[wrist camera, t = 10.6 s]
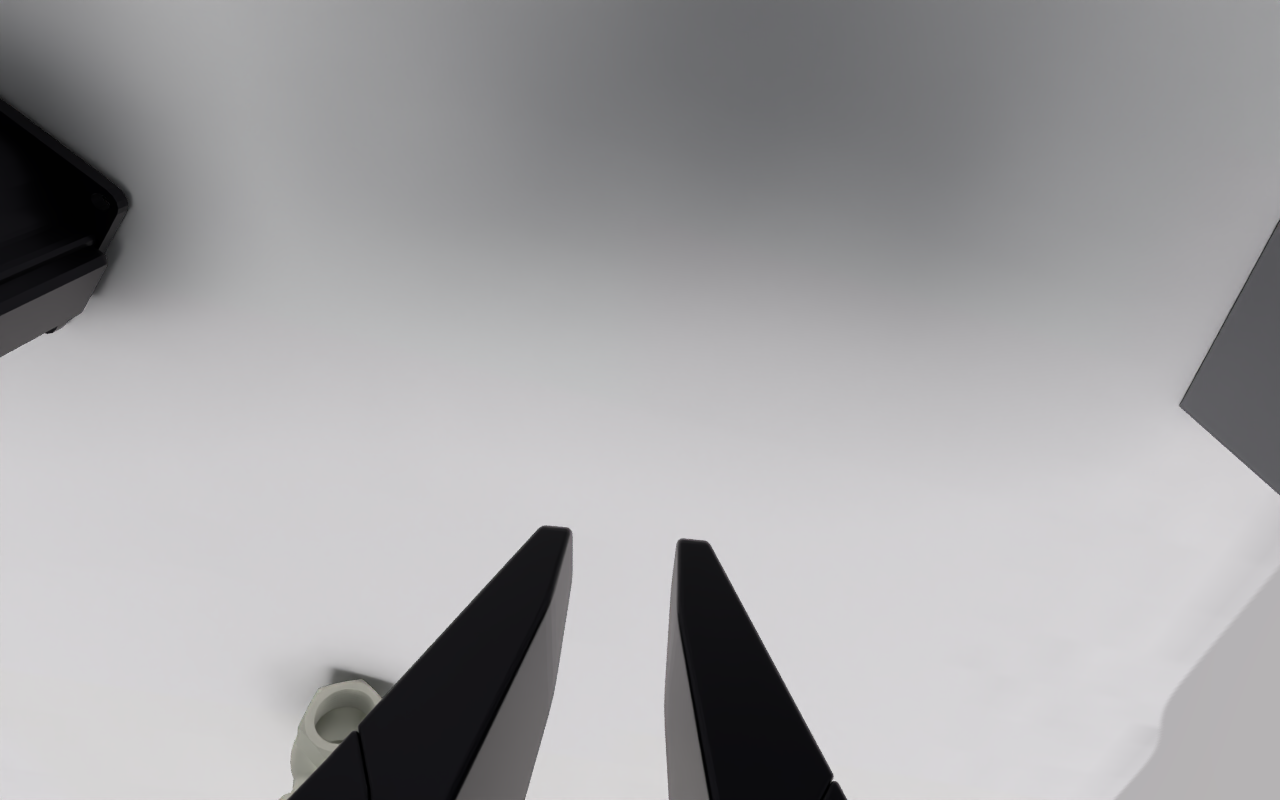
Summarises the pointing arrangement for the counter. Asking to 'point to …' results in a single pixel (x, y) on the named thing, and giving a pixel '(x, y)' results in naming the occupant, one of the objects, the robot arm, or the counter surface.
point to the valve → (328, 725)
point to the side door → (1246, 374)
